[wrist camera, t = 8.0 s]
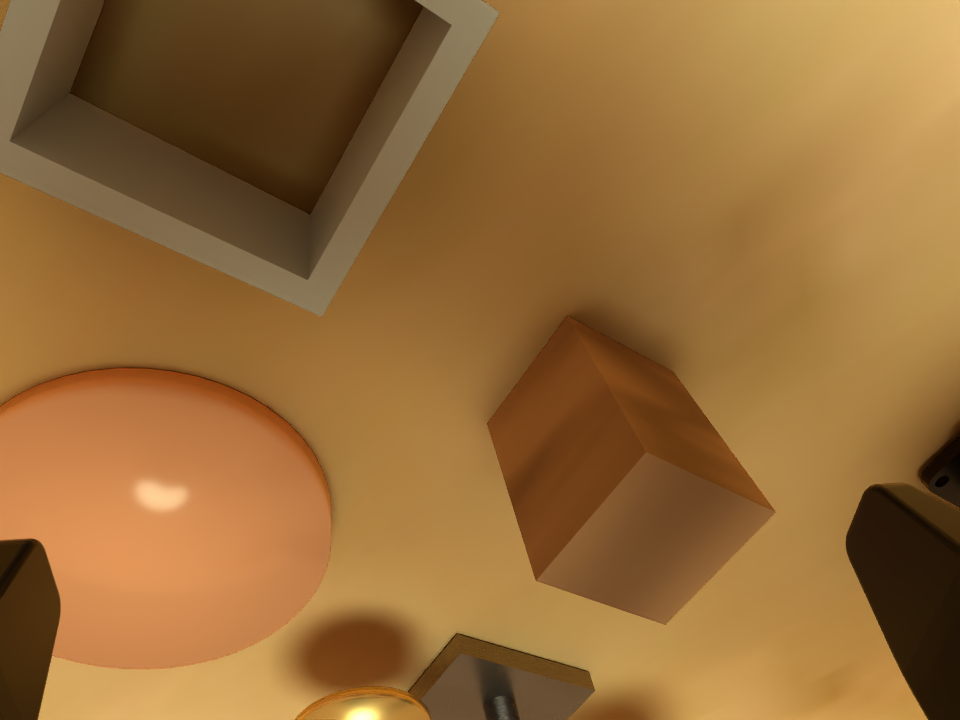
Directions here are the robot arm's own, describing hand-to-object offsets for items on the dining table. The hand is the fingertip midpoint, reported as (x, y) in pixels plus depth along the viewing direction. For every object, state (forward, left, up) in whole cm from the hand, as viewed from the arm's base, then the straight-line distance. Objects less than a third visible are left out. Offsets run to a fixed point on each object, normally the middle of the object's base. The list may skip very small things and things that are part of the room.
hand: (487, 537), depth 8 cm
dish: (+1, +12, -12) cm, 16 cm away
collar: (+4, -1, -12) cm, 12 cm away
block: (-8, +3, -12) cm, 14 cm away
